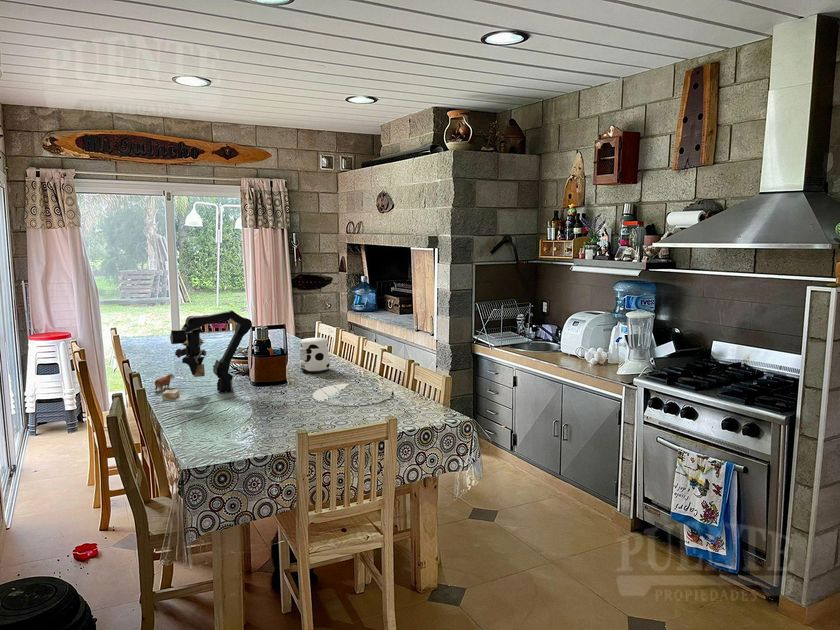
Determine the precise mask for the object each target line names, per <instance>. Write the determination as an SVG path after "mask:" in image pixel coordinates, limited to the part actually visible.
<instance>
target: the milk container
mask: <svg viewBox="0 0 840 630" xmlns="http://www.w3.org/2000/svg"><path fill="white" fill-rule="evenodd" d="M328 340H329V339H328V338H326V337H325V338H324V337H308V338H302V339H301V340H300V359H299V369H300V370H301V371H302V372H305V373H322V372H325V371H328V370H329V369H330V368H331V358H330V354H329V341H328Z"/></svg>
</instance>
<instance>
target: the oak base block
mask: <svg viewBox="0 0 840 630" xmlns="http://www.w3.org/2000/svg"><path fill="white" fill-rule="evenodd" d="M180 395H181V394H180V389H166V390H165V391H162V393H161V397H162V398H161V399H162V400H164V399H176V398H178V397H179V396H180Z"/></svg>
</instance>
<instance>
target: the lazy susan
mask: <svg viewBox="0 0 840 630" xmlns="http://www.w3.org/2000/svg"><path fill="white" fill-rule="evenodd" d="M365 383H366V384H370V383H369V382H367V381H365V382H364V384H365ZM347 385H349V382H348V383H339V384H334V385H333V384H332V385H328V386H325V387H322V388H318V389H317V390H315V391H314V392H313V393H312V399H313V398H314V399H316V400H317V401H320V400H321V401H324V399H327V400H328V396H329V395H330V396H332V395H334V394H336V393H335V392H337V393H339V392H338V391H339V390H340V391H341V389H344V388H345V387H346V386H347ZM334 386H335V387H336V388H335V387H334ZM381 386H382V389H385V388H392V387H391V386H389V385H387V384H382V385H381ZM337 388H338V389H339V390H338V389H337ZM324 392H325V393H326V394H327V395H328V396H327V395H326V394H325V393H324ZM333 393H334V394H333ZM331 394H332V395H331ZM314 399H313V400H314ZM317 401H316V402H317ZM321 401H320V402H321Z"/></svg>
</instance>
